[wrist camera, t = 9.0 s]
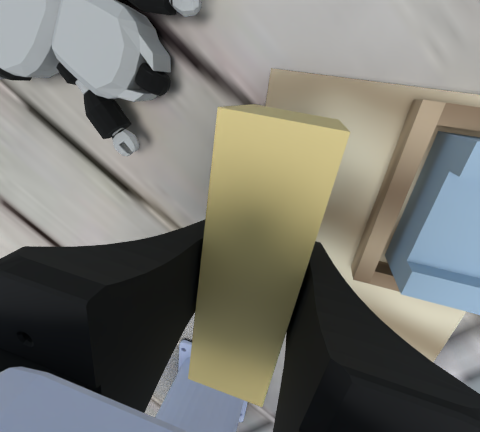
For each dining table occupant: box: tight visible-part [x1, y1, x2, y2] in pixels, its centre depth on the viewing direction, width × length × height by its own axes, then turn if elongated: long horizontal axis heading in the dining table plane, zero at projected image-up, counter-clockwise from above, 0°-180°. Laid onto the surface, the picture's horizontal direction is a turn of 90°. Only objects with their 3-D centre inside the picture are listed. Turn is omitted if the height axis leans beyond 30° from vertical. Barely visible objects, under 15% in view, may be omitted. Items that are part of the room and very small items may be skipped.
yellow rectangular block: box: [188, 104, 350, 407], centre depth 10 cm, size 10×3×4 cm, turn 171°
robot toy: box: [0, 0, 202, 156], centre depth 16 cm, size 12×4×15 cm
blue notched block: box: [385, 131, 480, 315], centre depth 14 cm, size 8×4×4 cm, turn 172°
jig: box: [265, 68, 480, 362], centre depth 18 cm, size 18×16×2 cm
